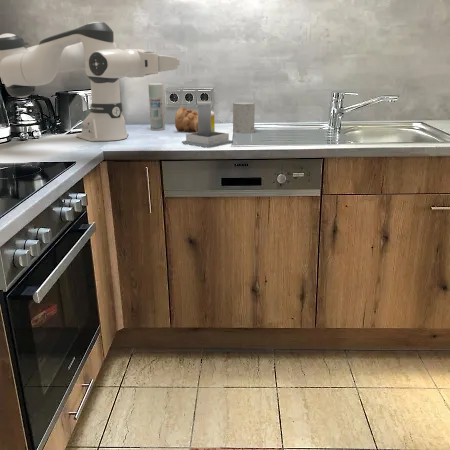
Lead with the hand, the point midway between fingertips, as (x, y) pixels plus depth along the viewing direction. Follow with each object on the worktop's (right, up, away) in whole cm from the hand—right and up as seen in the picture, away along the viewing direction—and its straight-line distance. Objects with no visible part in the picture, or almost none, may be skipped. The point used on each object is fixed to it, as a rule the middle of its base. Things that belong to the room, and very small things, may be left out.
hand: (168, 62), depth 172 cm
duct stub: (+12, -24, +19) cm, 33 cm away
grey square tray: (+13, -24, +21) cm, 35 cm away
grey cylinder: (+28, -15, +49) cm, 58 cm away
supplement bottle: (+12, -19, +36) cm, 43 cm away
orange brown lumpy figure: (+5, -16, +47) cm, 50 cm away
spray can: (-11, -13, +54) cm, 57 cm away
